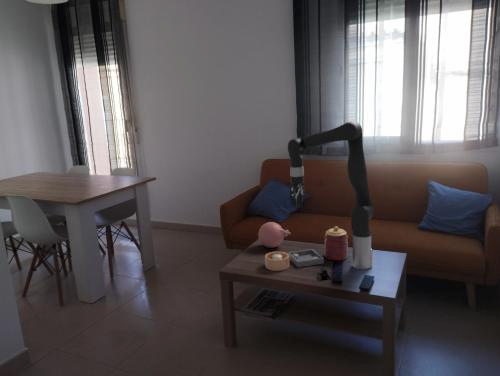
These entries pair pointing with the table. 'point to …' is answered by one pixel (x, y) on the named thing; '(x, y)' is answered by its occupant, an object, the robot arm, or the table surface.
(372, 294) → the table surface
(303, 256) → the parts tray
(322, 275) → the black bracket
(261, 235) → the balloon
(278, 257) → the pale stone
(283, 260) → the terracotta bowl
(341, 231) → the canister
